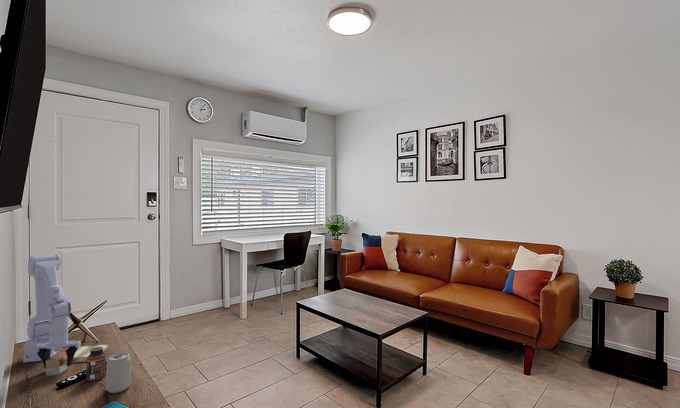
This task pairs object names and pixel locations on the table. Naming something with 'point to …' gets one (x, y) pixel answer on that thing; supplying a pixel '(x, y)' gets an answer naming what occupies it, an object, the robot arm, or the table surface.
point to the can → (118, 372)
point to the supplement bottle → (96, 364)
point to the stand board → (87, 352)
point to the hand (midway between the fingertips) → (58, 366)
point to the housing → (56, 363)
